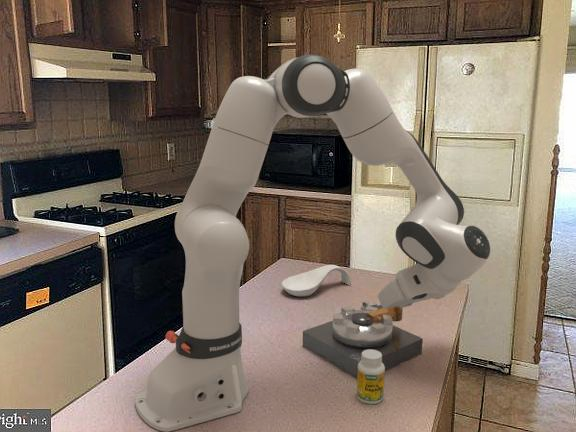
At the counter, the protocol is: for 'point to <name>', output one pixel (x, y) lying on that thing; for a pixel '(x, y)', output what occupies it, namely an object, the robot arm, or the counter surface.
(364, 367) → the supplement bottle
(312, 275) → the spoon rest
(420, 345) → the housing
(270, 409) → the counter surface
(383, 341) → the rotary crank dial
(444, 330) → the counter surface
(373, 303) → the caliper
